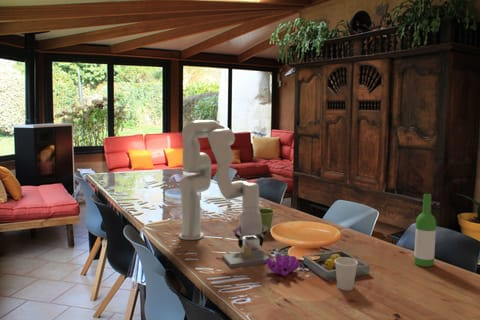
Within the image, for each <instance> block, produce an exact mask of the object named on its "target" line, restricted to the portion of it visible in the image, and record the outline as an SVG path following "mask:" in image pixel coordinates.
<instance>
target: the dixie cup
mask: <svg viewBox="0 0 480 320" xmlns="http://www.w3.org/2000/svg"><path fill="white" fill-rule="evenodd" d="M334 262H335V266H336V268H335V269H336V276H337V279H336V285H337V288H338V289H340V290H342V291H351V290H353V289H354V286H355V280H356V279H355V278H356V276H355V274H356V268H357V264H358V262H357V261H356V260H355V259H352V258H348V257H340V258H336V259H335V260H334Z"/></svg>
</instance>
